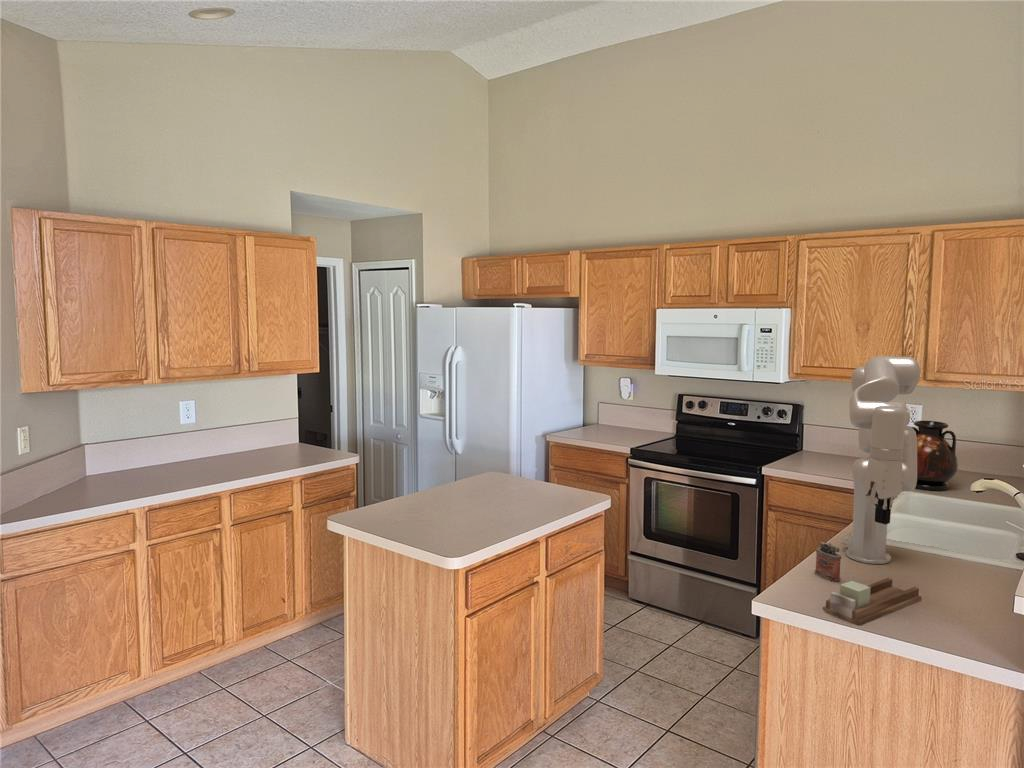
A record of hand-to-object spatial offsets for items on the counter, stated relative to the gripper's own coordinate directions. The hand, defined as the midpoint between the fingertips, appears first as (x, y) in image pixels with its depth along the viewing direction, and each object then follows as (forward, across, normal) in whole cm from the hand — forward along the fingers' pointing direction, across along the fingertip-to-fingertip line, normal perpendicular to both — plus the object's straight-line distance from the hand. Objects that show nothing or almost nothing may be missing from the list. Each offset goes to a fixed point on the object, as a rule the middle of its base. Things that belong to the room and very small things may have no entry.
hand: (882, 522), depth 182 cm
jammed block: (+21, +11, 0) cm, 23 cm away
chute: (+22, +2, 0) cm, 22 cm away
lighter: (+22, -4, -18) cm, 29 cm away
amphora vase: (+23, -131, -57) cm, 145 cm away
